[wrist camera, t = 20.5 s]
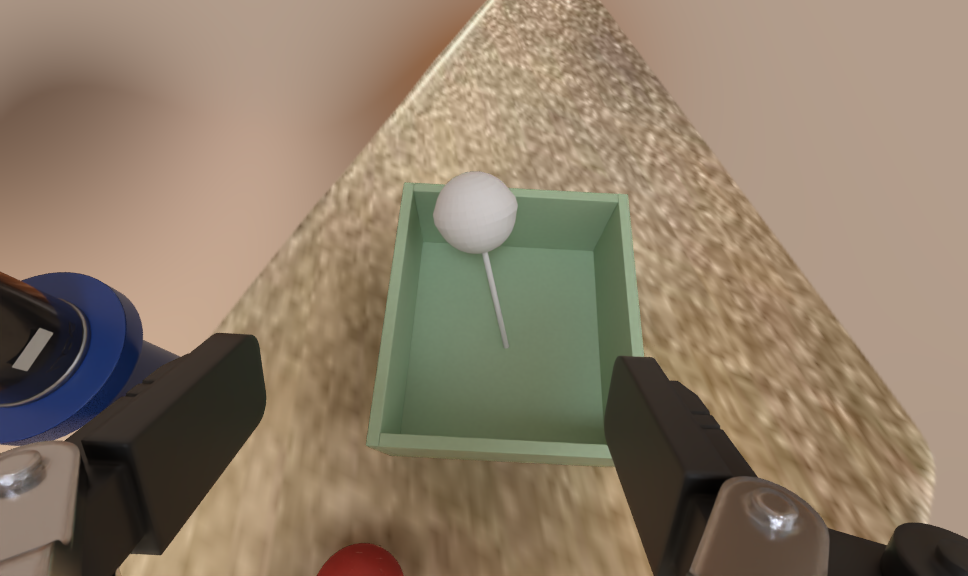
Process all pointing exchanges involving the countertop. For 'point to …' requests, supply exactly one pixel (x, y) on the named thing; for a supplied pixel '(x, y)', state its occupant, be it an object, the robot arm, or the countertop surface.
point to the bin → (507, 333)
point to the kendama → (361, 562)
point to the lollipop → (477, 220)
